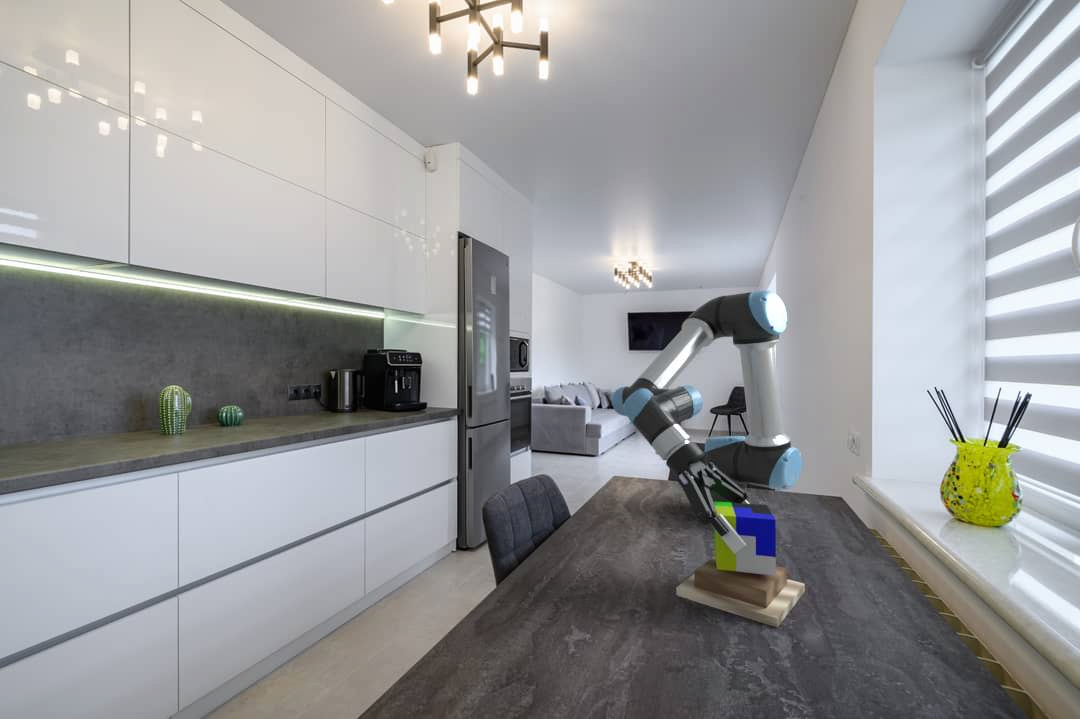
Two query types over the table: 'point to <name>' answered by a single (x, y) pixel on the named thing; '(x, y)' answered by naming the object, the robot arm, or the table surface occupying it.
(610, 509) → the table surface
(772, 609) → the build plinth
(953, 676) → the table surface
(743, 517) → the puzzle toy
